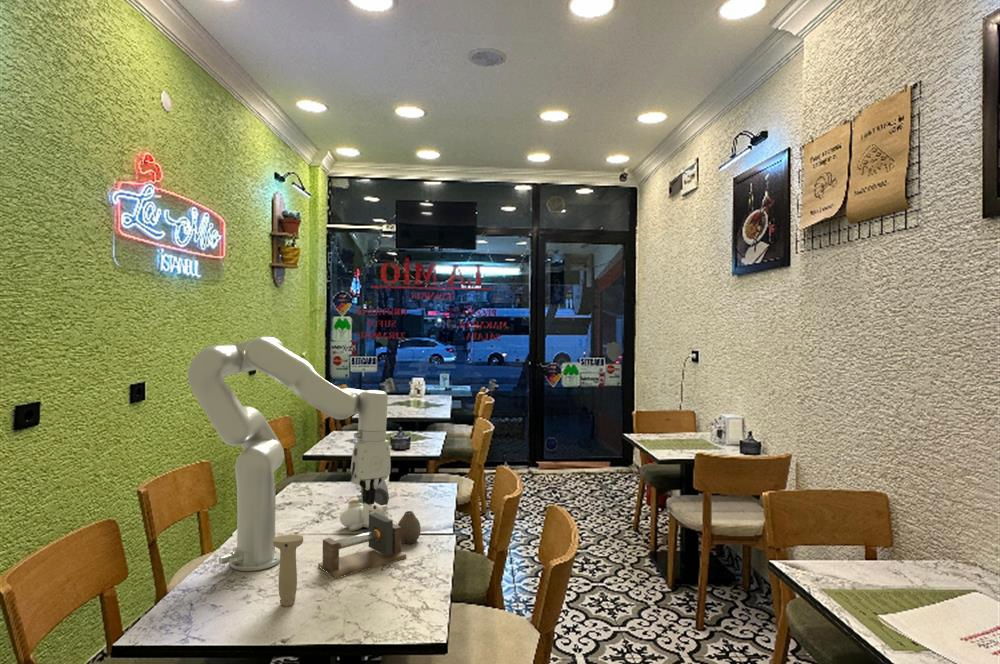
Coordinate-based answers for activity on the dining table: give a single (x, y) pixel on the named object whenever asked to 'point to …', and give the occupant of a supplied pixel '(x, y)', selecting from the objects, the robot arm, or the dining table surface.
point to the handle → (287, 567)
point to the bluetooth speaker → (380, 494)
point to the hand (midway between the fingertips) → (368, 503)
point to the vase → (409, 528)
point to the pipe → (359, 539)
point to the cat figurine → (360, 514)
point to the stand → (358, 556)
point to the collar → (386, 533)
